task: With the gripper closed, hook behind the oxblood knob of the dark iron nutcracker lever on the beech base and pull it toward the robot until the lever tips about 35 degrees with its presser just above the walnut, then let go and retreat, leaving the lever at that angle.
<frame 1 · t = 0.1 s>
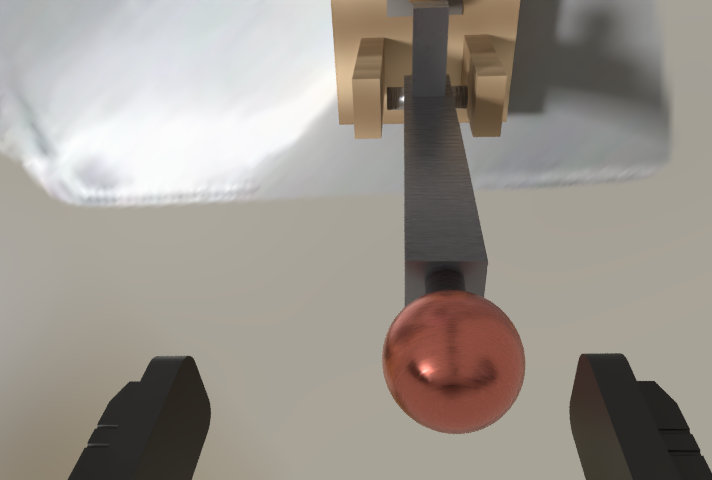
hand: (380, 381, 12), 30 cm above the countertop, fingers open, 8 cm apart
lever: (436, 150, 20), point 19 cm above the countertop, hinge at 0.0°
cracker base: (422, 0, 35), on the countertop
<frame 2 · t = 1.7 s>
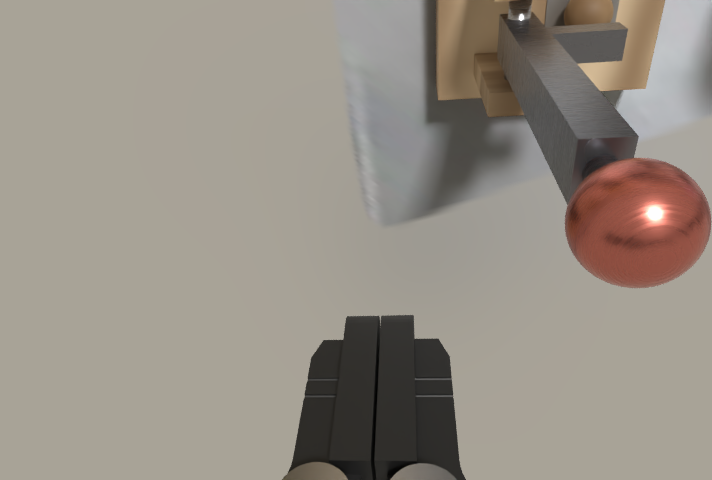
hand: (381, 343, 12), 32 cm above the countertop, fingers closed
lever: (599, 102, 22), point 19 cm above the countertop, hinge at 0.0°
cracker base: (539, 0, 37), on the countertop
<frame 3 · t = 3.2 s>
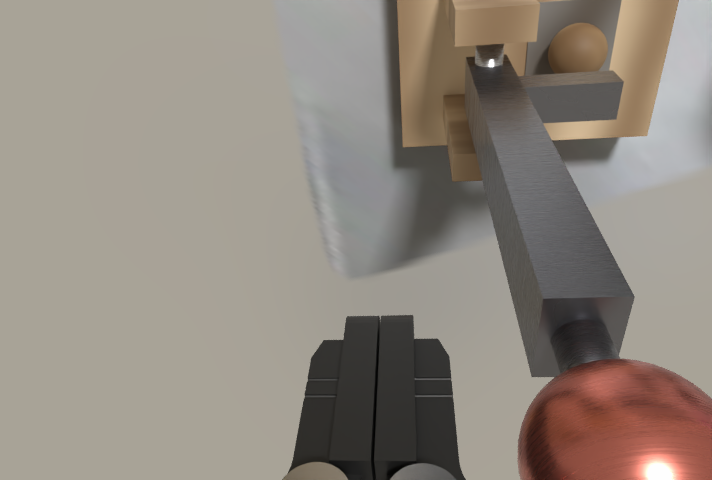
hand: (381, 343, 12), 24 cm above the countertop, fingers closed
lever: (583, 198, 16), point 19 cm above the countertop, hinge at 0.3°, touching gripper
cracker base: (521, 31, 32), on the countertop
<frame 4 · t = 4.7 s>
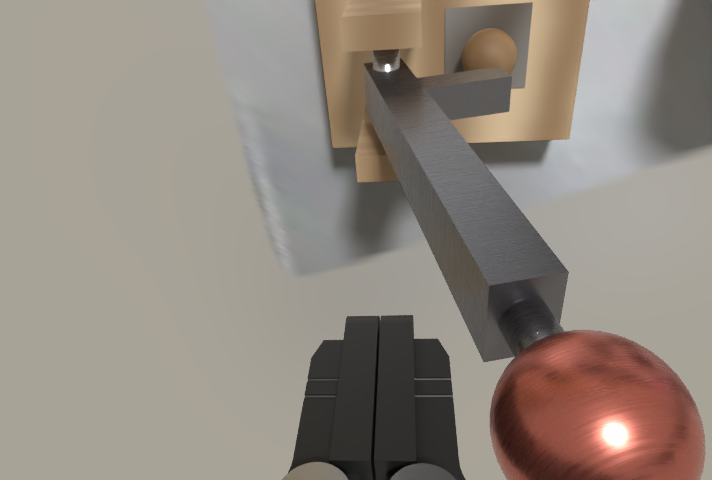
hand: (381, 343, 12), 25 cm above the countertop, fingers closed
lever: (498, 187, 17), point 18 cm above the countertop, hinge at 14.5°, touching gripper
cracker base: (446, 35, 32), on the countertop
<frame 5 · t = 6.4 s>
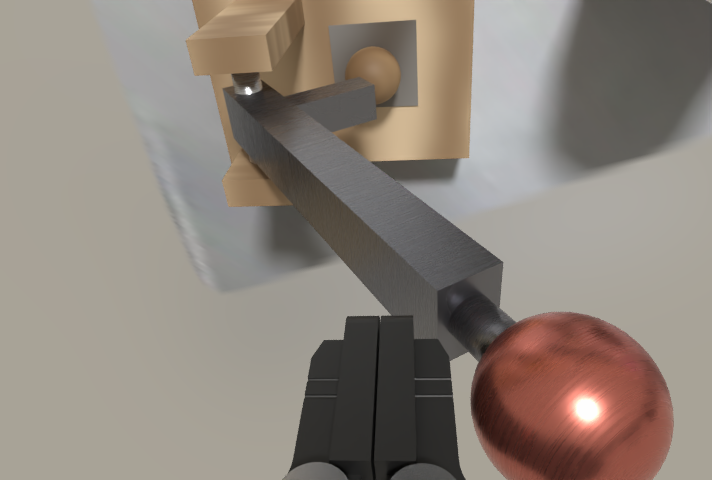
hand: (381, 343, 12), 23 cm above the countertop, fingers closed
lever: (397, 193, 18), point 16 cm above the countertop, hinge at 33.4°, touching gripper
cracker base: (343, 51, 31), on the countertop
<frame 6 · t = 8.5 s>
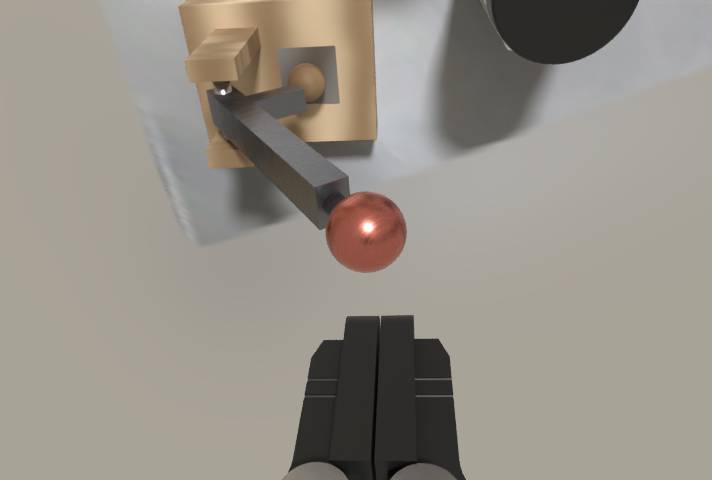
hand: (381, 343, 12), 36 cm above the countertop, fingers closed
lever: (309, 151, 31), point 16 cm above the countertop, hinge at 33.4°
cracker base: (289, 64, 45), on the countertop
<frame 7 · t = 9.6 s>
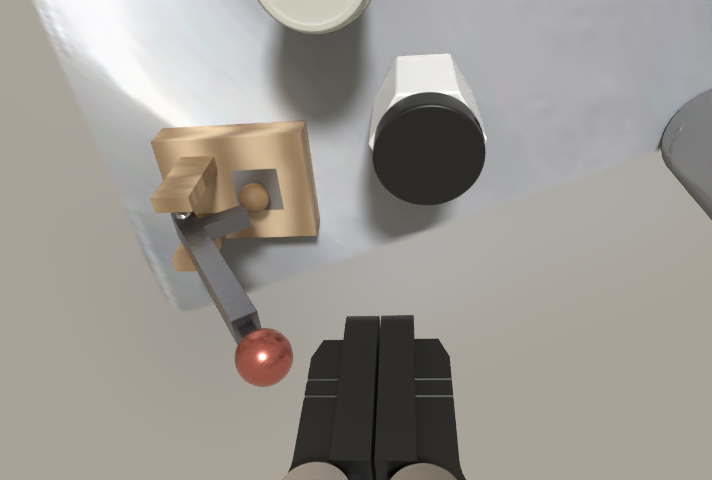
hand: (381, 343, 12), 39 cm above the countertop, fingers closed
jar: (423, 97, 49), on the countertop
lever: (241, 275, 41), point 16 cm above the countertop, hinge at 33.4°
cracker base: (244, 175, 55), on the countertop
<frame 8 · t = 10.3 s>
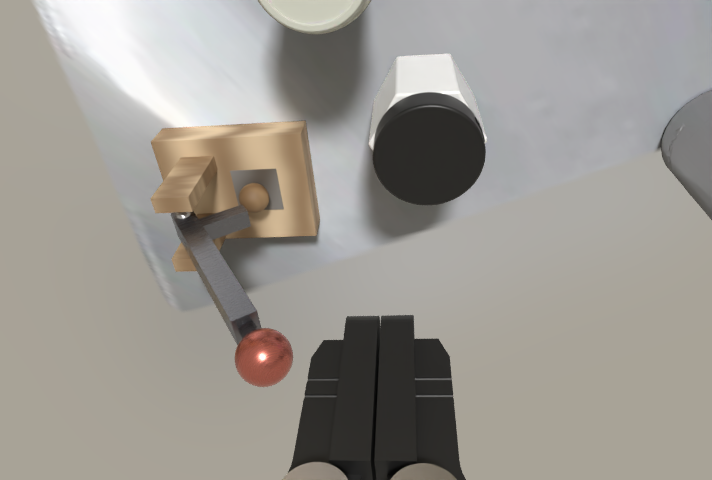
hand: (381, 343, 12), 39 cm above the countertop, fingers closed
jar: (423, 97, 49), on the countertop
lever: (241, 275, 41), point 16 cm above the countertop, hinge at 33.4°
cracker base: (244, 175, 55), on the countertop
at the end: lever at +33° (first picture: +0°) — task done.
